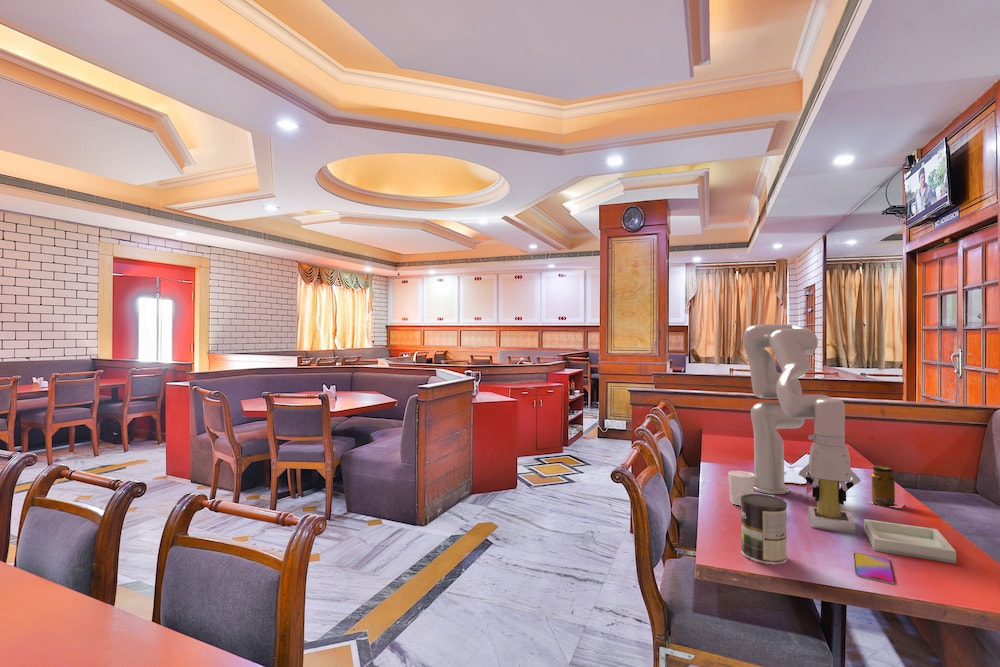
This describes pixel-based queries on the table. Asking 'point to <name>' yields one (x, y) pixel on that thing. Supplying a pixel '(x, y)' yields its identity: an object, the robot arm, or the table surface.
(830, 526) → the white square dish
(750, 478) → the white cup
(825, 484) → the vase
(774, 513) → the coffee can
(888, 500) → the condiment
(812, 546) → the table surface
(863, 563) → the smartphone
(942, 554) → the beige tray
